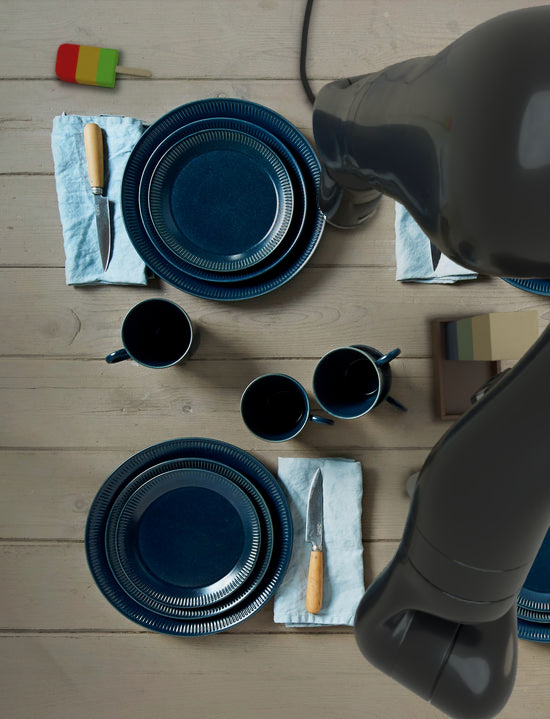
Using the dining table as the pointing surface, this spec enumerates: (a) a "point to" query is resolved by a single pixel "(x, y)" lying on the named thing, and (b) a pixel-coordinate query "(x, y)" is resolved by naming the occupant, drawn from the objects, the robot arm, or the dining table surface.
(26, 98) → the dining table surface
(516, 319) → the block tower
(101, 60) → the popsicle
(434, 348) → the tray
